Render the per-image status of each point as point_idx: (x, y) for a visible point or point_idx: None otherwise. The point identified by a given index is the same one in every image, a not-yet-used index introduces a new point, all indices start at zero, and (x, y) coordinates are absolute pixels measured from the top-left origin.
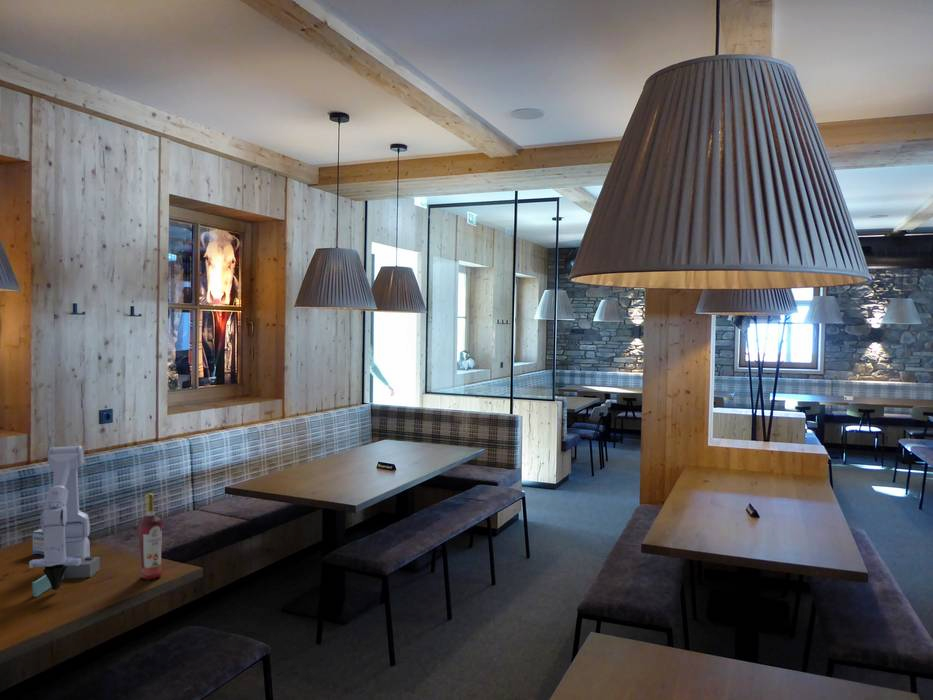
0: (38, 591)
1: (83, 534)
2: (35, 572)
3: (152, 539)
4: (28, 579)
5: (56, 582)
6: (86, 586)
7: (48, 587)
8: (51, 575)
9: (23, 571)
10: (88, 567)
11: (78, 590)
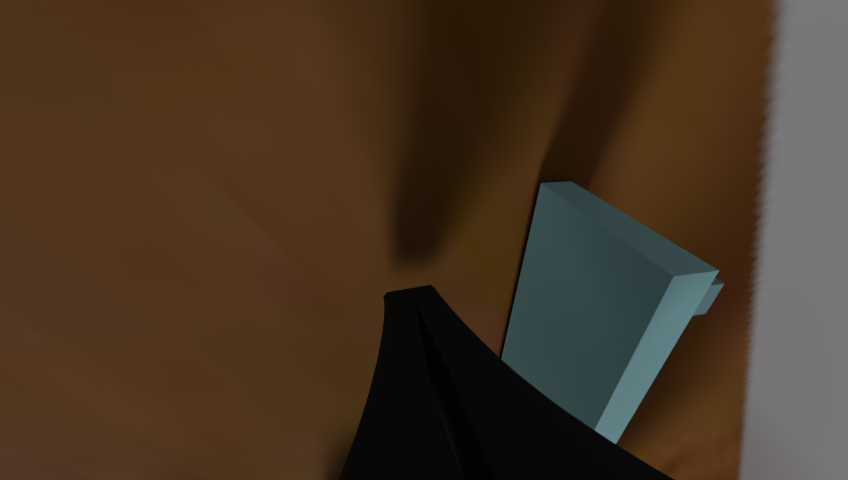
0: (559, 229)
1: None
2: None
3: None
4: (659, 414)
5: (386, 354)
6: (214, 416)
7: (511, 344)
8: (495, 459)
9: (687, 458)
10: None
11: (215, 350)
